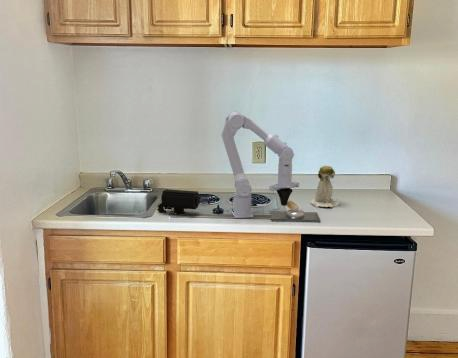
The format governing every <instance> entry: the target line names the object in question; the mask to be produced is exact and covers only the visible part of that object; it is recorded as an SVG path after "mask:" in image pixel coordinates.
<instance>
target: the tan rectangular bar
mask: <svg viewBox="0 0 458 358" xmlns="http://www.w3.org/2000/svg"><path fill="white" fill-rule="evenodd" d="M286 207H288V208H289V210H292V211H294V212H298V210H300V209H299V207H300V206H299V205H298V204H296V203H295V202H294V201H293V200H292V199H288V202H287V205H286Z"/></svg>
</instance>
